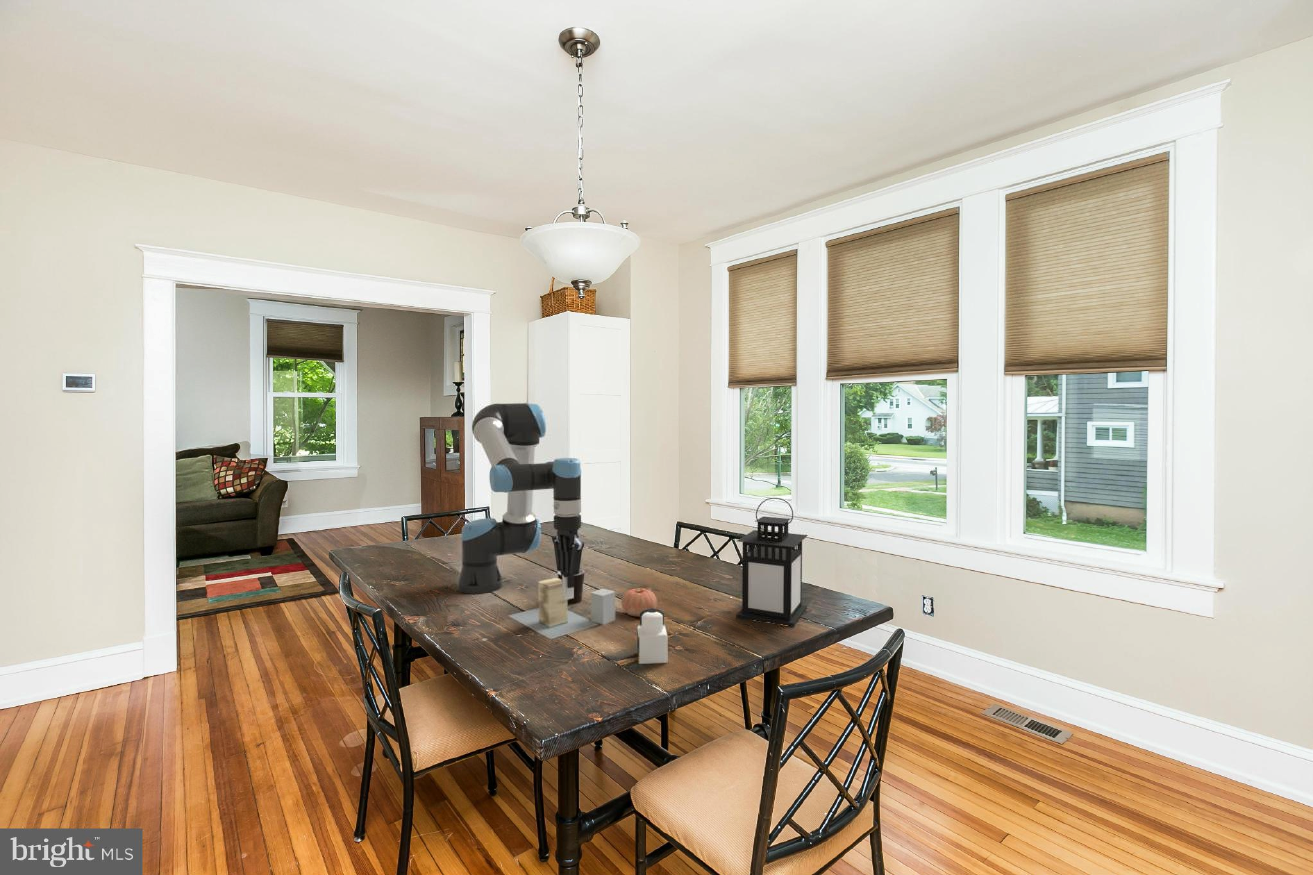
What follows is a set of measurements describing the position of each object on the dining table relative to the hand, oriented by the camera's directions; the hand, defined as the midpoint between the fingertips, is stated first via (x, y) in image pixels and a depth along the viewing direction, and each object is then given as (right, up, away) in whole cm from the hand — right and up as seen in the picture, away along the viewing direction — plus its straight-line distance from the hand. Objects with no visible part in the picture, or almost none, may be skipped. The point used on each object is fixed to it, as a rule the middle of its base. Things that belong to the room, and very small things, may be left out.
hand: (568, 598), depth 170 cm
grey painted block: (+9, -9, +8) cm, 15 cm away
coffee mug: (-2, -8, +28) cm, 29 cm away
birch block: (-5, -9, +7) cm, 12 cm away
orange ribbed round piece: (+19, -9, +15) cm, 26 cm away
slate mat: (-6, -9, +9) cm, 14 cm away
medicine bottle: (+23, -11, -16) cm, 31 cm away
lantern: (+60, -9, +16) cm, 62 cm away
